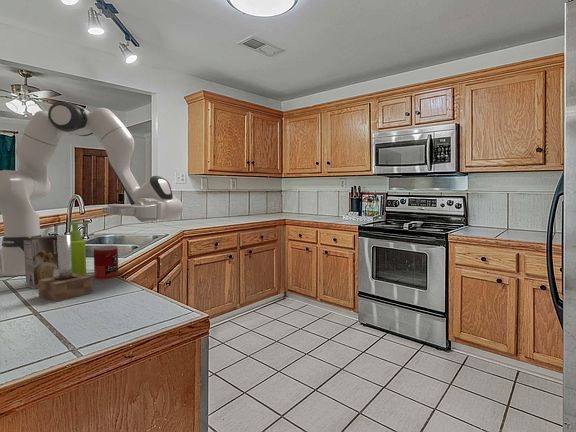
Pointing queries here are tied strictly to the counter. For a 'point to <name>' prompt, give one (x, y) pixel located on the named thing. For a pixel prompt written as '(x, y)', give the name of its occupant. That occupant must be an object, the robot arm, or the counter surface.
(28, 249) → the coffee box
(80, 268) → the soap dispenser
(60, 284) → the walnut socket block
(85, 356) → the counter surface
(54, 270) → the short steel dowel
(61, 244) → the long steel dowel
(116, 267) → the canned food
